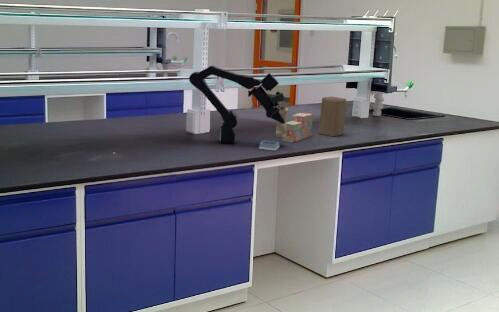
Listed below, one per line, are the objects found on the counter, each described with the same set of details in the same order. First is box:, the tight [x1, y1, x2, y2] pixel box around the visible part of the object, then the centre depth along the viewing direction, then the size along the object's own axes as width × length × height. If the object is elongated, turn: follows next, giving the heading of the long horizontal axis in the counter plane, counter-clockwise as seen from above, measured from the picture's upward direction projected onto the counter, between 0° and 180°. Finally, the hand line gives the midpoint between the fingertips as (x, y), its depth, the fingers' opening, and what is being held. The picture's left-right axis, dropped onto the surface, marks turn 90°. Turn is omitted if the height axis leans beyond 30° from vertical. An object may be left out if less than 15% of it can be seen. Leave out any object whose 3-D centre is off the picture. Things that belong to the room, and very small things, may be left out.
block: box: [318, 96, 347, 138], centre depth 304 cm, size 10×10×20 cm
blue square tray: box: [258, 139, 280, 151], centre depth 266 cm, size 8×8×2 cm
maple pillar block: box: [275, 106, 289, 138], centre depth 268 cm, size 4×4×14 cm
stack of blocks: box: [281, 112, 314, 143], centre depth 290 cm, size 21×6×12 cm, turn 149°
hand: (284, 122), depth 268 cm, fingers closed on maple pillar block, 5 cm apart
